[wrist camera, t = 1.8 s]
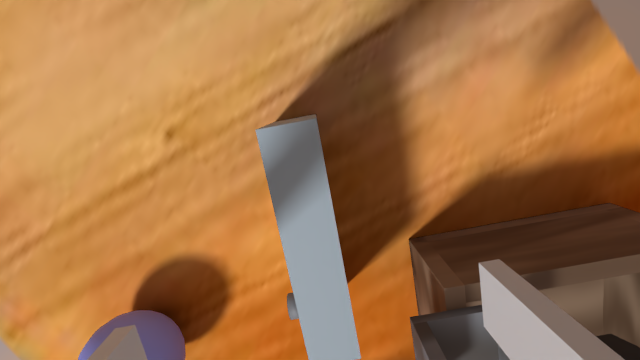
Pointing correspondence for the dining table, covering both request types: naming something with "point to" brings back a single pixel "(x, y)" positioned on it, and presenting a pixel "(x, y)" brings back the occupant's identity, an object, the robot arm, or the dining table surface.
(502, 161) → the dining table surface
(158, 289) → the dining table surface
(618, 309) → the box
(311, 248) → the door
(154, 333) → the sphere
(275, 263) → the dining table surface
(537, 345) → the robot arm
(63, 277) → the dining table surface
